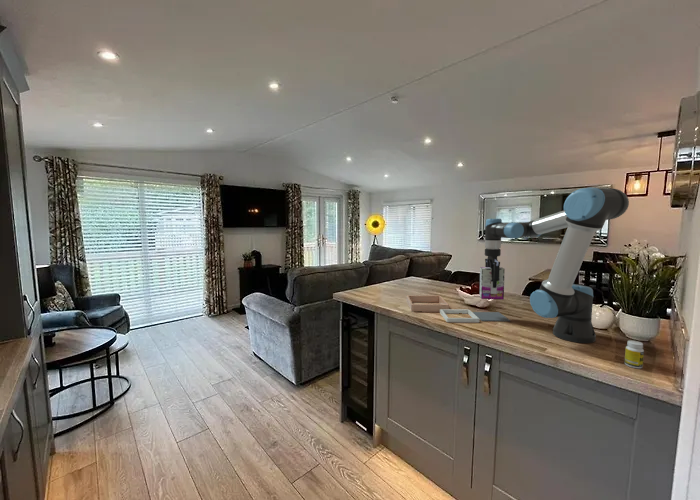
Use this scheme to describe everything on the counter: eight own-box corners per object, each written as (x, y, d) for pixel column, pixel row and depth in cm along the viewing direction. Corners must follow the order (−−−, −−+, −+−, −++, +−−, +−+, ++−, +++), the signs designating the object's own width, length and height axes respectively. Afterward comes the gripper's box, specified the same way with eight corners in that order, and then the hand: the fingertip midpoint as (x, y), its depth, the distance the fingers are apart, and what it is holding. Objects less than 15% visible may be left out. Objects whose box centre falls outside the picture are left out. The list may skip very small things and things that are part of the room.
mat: (510, 321, 155) (510, 320, 155) (481, 321, 156) (482, 320, 156) (498, 313, 169) (498, 312, 169) (472, 313, 170) (472, 311, 170)
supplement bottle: (642, 370, 104) (644, 346, 103) (623, 365, 107) (625, 342, 107) (643, 365, 107) (645, 342, 106) (625, 361, 111) (626, 338, 110)
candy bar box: (501, 297, 163) (502, 267, 162) (503, 299, 158) (505, 268, 157) (478, 296, 166) (479, 266, 164) (480, 299, 161) (482, 268, 159)
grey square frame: (479, 322, 154) (479, 318, 154) (447, 322, 155) (447, 318, 155) (469, 313, 170) (469, 309, 170) (439, 312, 171) (439, 309, 171)
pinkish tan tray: (448, 311, 173) (449, 304, 173) (411, 311, 174) (411, 304, 174) (440, 301, 195) (440, 295, 194) (406, 301, 196) (406, 295, 196)
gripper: (508, 250, 150) (506, 296, 152) (493, 246, 168) (491, 288, 170) (492, 250, 150) (490, 296, 153) (479, 246, 169) (477, 288, 171)
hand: (491, 292), depth 162 cm, fingers closed on candy bar box, 5 cm apart
